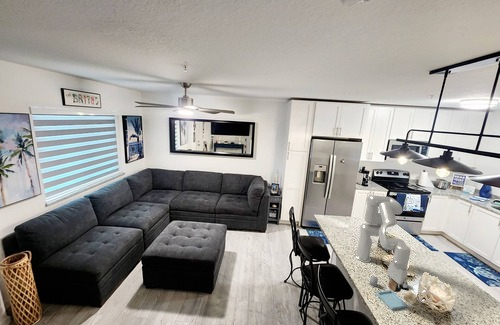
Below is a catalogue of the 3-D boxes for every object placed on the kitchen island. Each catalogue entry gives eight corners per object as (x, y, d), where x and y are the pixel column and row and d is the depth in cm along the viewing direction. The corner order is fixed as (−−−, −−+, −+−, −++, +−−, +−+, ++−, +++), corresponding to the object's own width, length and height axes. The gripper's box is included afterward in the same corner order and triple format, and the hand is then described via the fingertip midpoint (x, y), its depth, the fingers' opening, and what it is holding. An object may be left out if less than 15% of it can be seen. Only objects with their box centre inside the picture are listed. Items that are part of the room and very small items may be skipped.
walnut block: (388, 286, 136) (390, 278, 135) (393, 286, 137) (395, 278, 136) (394, 292, 132) (396, 284, 130) (399, 291, 133) (401, 283, 131)
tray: (376, 294, 141) (376, 292, 140) (390, 292, 143) (391, 290, 143) (391, 310, 129) (391, 307, 129) (406, 307, 132) (407, 305, 132)
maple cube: (403, 299, 138) (404, 292, 137) (407, 296, 141) (408, 290, 140) (411, 305, 134) (413, 298, 133) (415, 302, 136) (417, 296, 135)
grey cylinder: (368, 282, 151) (369, 276, 150) (373, 281, 152) (374, 276, 151) (372, 287, 147) (374, 281, 146) (378, 286, 148) (379, 280, 147)
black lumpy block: (394, 279, 157) (396, 273, 157) (406, 282, 155) (407, 276, 154) (400, 290, 146) (401, 285, 145) (412, 294, 144) (413, 288, 143)
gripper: (383, 255, 138) (378, 279, 141) (407, 273, 122) (401, 300, 125) (392, 254, 140) (387, 278, 143) (417, 272, 123) (411, 298, 127)
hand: (394, 288), depth 134 cm, fingers closed on walnut block, 4 cm apart
